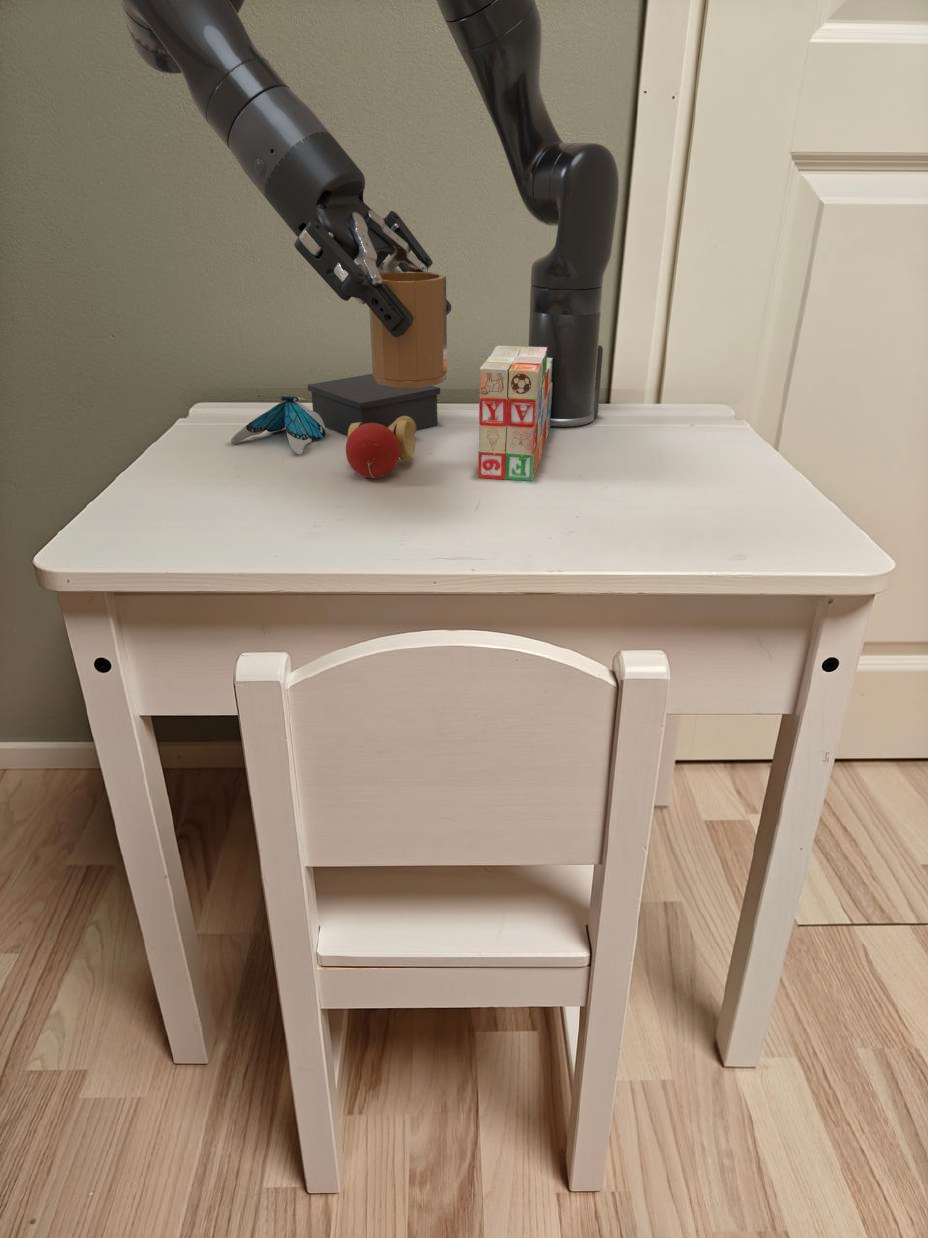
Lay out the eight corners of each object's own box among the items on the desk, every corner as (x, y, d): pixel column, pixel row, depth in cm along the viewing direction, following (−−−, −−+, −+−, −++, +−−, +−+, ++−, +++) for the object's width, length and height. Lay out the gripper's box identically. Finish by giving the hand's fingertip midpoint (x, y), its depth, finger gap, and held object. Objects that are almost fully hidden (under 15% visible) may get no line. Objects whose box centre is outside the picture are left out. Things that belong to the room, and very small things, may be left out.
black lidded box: (386, 406, 124) (385, 371, 122) (440, 425, 115) (440, 387, 113) (310, 421, 117) (307, 384, 114) (362, 442, 108) (360, 403, 106)
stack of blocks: (503, 426, 115) (506, 330, 109) (550, 429, 114) (555, 332, 108) (477, 478, 96) (479, 366, 91) (533, 481, 96) (538, 368, 90)
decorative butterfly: (344, 402, 110) (298, 399, 101) (341, 452, 112) (295, 454, 103) (280, 393, 114) (230, 389, 105) (277, 442, 116) (228, 443, 107)
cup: (416, 367, 80) (414, 269, 76) (461, 380, 76) (461, 276, 71) (359, 377, 76) (353, 275, 72) (402, 391, 72) (398, 283, 68)
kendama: (369, 447, 111) (326, 472, 94) (378, 398, 108) (334, 415, 92) (427, 461, 110) (394, 489, 93) (437, 412, 108) (404, 432, 91)
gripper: (267, 126, 64) (412, 304, 65) (367, 129, 75) (488, 281, 76) (220, 203, 68) (356, 369, 70) (320, 196, 80) (436, 338, 81)
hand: (425, 322), depth 73 cm, fingers closed on cup, 6 cm apart
